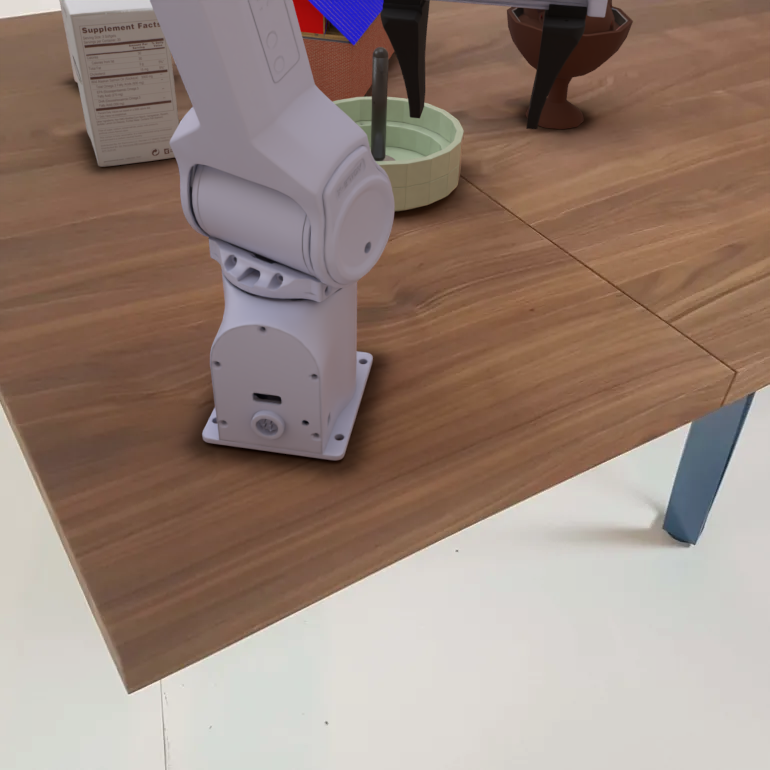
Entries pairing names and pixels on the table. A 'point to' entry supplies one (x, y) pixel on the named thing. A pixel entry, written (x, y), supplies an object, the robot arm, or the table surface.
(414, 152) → the bowl
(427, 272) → the table surface
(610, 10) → the ice cream bowl
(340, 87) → the house
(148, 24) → the white packaging box
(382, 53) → the pen in desk stand
